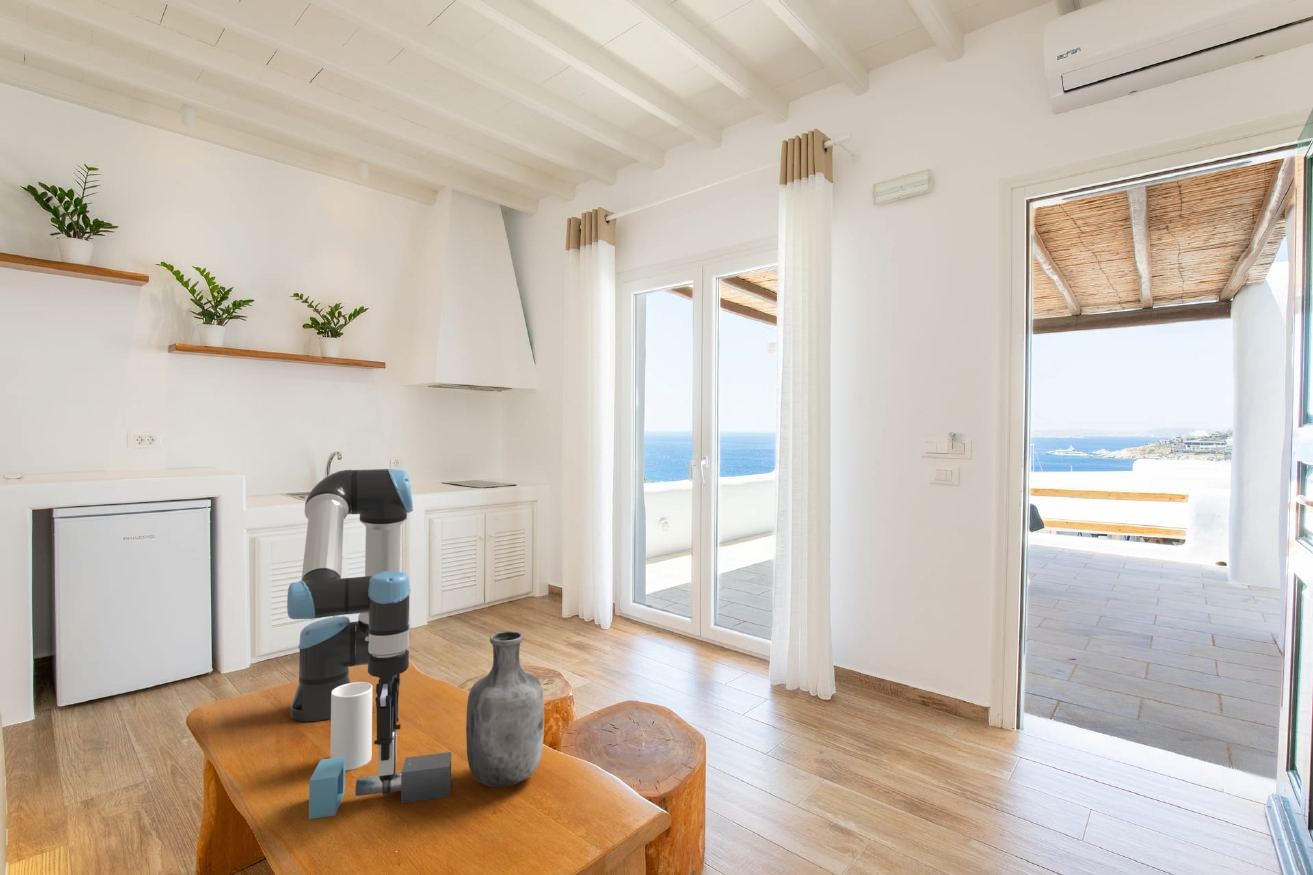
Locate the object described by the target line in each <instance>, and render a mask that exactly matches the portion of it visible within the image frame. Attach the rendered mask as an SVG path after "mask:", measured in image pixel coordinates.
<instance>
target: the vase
mask: <svg viewBox="0 0 1313 875" xmlns="http://www.w3.org/2000/svg"><path fill="white" fill-rule="evenodd" d="M523 638H524V636H523V634H522V632H519V631H501V632H497V633H494V634H492V635H490V637H489V643H490V644H491V645H492V654H493V656H492V657H493V658H492V667H491V670H490V671H489V673H487V675H485V676H483V677H481V678H480V679H478V680H477V681H476V682H475V683H474V684H473V685H472V687H471V688H470V690H469V692H468V695H467V696H468V697H467V703H466V718H465V719H466V721H465V726H466V727H465V730H466V731H465V734H466V736H465V737H466V756H467V761H468V762H467V763H468V768H469V771H470V774H471V775H472V776H473V778H475V780H476V781H477V782H480V783H481V784H483V785H486V786H490V787H499V788H502V787H509V786H513V785H515V784H516V785H517V784H519V783H521V782H523V781H525V780H527V779H529V777H530V776H532V775H533V774H534V773H535V772H536V770H537V768H538V767H539V765H540V763H541V758H542V754H543V749H544V748H543V746H544V738H545V737H544V735H545V700H544V699H545V698H544V689H543V686H542V684H541V682H540V680H539V679H538V678H537V677H536V676H534V675H532V674H530V673H528V672H525V671H524V669H523V668H522V665H521V663H520V647H521V643H522V642H523V641H524V639H523Z"/></svg>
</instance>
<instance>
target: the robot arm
mask: <svg viewBox="0 0 1313 875" xmlns="http://www.w3.org/2000/svg"><path fill="white" fill-rule="evenodd" d="M413 508H414V507H413V495H412V488H411V482H410V477H409V474H408V472H407V471H406V470H403V469H392V468H381V469H379V468H376V469H345V470H339V471H337V472H333V473H331V474H329V475H327V476H326V477H324V478H323V479H322V480H320V481H319V482H318V483H316V485H315V486H314V487H313V488H312V489H311V491H310V492H309V493H308V496H307V497H306V499H305V503H304V515H305V518H306V519H307V528H306V535H305V536H306V537H305V545H304V555H303V563H302V571H301V572H302V574H301V580H300V581H294V582H292V583H290V584H289V586H288V589H287V598H286V603H287V604H286V605H287V607H286V608H287V609H286V610H287V615H288V618H289V619H290V620H313V619H319V618H323V619H320V620H317V621H313V622H312V623H310V624H308V625H306V626H305V627H303V629H301V631H300V635H299V645H298V649H299V661H298V662H299V664H298V670H299V671H298V685H297V689H296V692H295V694H294V697H293V699H292V702H291V704H290V717H291V719H293V720H295V721H298V722H318V721H325V720H329V719H330V720H331V692H332V690H333V689H335V688H337V687H339V686H341V685H344V684H348V683H352V682H351V680H350V675H349V668H350V667H351V668H352V667H357V666H365V665H366V666H367V673H368V675H369V676H371V677H376V678H378V683H376V687H375V693H376V696H375V705H376V739H374V742H373V744H374V745H376V746H377V747H378V748H377V749H378V750H377V752H378V753H377V754H378V755H377V756H378V757H377V758H378V759H377V760H378V761H377V764H378V765H377V775H378V776H384V775H392V774H393V772H394V739H393V728H394V729H396V749H397V742H398V741H397V739H398V736H397V734H398V733H397V730H401V723H400V724H399V723H398V722H399V695H400V684H401V674H403V673H404V672H406V671H407V670H408V669H409V666H410V665H409V664H410V662H409V661H410V652H409V650H408V649H409V648H410V627H411V620H410V617H409V616H410V594H411V588H410V587H411V586H410V577H409V574H408V573H404V572H402V571H401V570H400V567H401V566H400V565H401V564H400V563H401V528H402V527H401V526H402V525H403V523H404V522H406V521H407V519H408V516H407V514H408V513H411V512H413V511H414V509H413ZM348 515H359V522H360V523H361V524H363V525H364V526H365V556H364V557H365V562H364V566H365V567H364V576H356V577H343V578H342V573H343V572H342V568H343V566H342V565H343V548H344V547H343V542H344V520H346V518H347V517H348ZM356 614H358V617H357V621H351V620H350V618H349V617H348V616H344V615H356ZM327 617H328V618H327Z"/></svg>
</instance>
